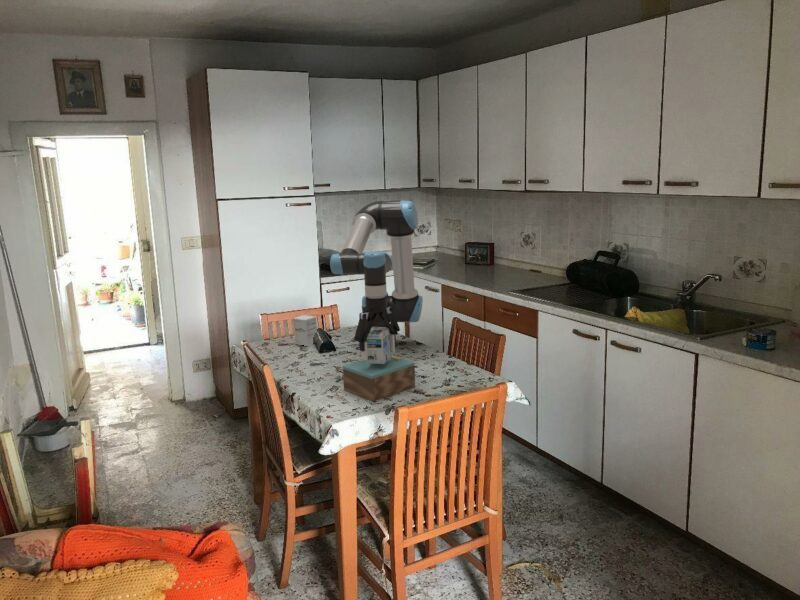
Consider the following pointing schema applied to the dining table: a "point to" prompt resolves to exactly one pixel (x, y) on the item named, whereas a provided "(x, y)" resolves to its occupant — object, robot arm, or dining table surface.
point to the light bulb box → (378, 345)
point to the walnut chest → (379, 383)
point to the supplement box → (305, 329)
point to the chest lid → (378, 367)
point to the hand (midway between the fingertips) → (378, 355)
